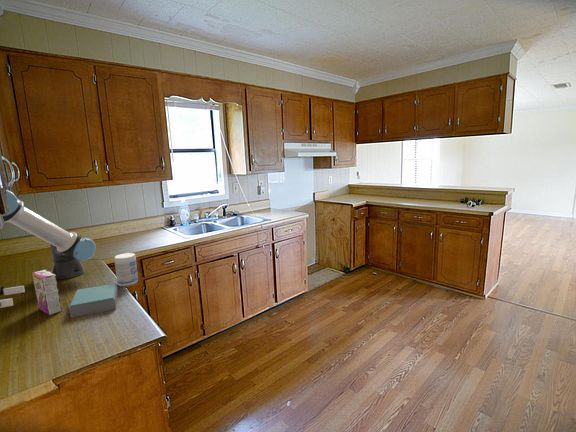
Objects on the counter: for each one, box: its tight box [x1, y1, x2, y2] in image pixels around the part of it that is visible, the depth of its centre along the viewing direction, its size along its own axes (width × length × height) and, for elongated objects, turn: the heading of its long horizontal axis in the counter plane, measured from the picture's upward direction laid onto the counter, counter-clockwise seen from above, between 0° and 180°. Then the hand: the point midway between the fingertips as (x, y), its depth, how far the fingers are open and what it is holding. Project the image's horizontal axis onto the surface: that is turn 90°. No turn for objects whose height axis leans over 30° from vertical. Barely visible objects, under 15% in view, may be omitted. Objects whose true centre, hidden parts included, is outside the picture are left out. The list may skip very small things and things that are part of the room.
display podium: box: [68, 283, 119, 319], centre depth 134 cm, size 18×16×5 cm
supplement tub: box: [114, 252, 139, 287], centre depth 156 cm, size 10×10×15 cm
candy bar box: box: [32, 269, 63, 316], centre depth 128 cm, size 11×5×16 cm, turn 56°
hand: (18, 295), depth 124 cm, fingers open, 13 cm apart
